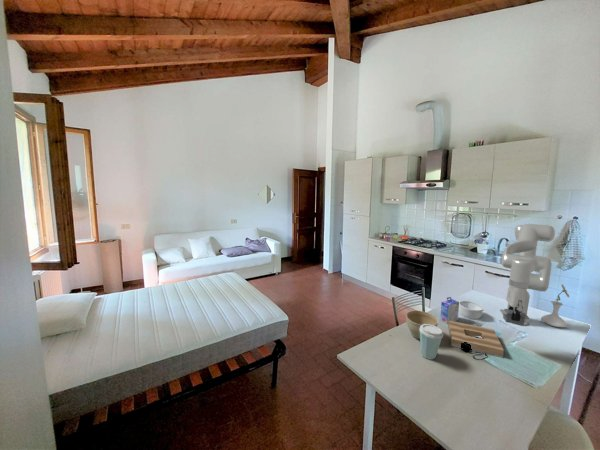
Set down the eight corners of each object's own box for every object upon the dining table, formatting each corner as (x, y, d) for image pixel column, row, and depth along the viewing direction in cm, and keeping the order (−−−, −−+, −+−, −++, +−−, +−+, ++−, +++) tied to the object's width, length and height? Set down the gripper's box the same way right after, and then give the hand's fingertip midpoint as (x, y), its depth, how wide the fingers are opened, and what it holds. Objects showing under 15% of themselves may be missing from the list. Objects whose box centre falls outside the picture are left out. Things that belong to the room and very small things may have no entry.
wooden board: (448, 326, 155) (448, 320, 154) (492, 336, 146) (493, 329, 145) (451, 345, 137) (452, 338, 136) (502, 357, 128) (503, 350, 127)
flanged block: (499, 316, 136) (500, 307, 136) (523, 321, 132) (525, 311, 132) (501, 321, 132) (503, 312, 131) (527, 326, 128) (529, 316, 127)
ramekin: (487, 320, 162) (488, 310, 161) (465, 320, 162) (467, 310, 161) (473, 310, 175) (474, 300, 174) (453, 310, 175) (454, 300, 174)
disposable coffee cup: (421, 346, 137) (424, 319, 134) (444, 355, 129) (447, 328, 126) (413, 355, 129) (415, 327, 127) (436, 366, 122) (439, 337, 119)
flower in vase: (561, 331, 151) (569, 290, 147) (537, 321, 161) (543, 283, 157) (570, 325, 157) (578, 286, 153) (546, 316, 167) (553, 280, 163)
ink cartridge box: (449, 316, 167) (452, 295, 165) (458, 320, 162) (460, 298, 160) (439, 319, 163) (441, 297, 161) (447, 324, 158) (449, 301, 156)
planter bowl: (398, 330, 151) (400, 312, 149) (421, 325, 156) (422, 308, 154) (419, 346, 136) (420, 327, 134) (443, 341, 141) (445, 322, 139)
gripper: (504, 277, 138) (499, 308, 141) (515, 288, 123) (509, 324, 126) (521, 279, 135) (516, 311, 138) (535, 291, 120) (529, 328, 123)
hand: (513, 317), depth 132 cm, fingers closed on flanged block, 5 cm apart
